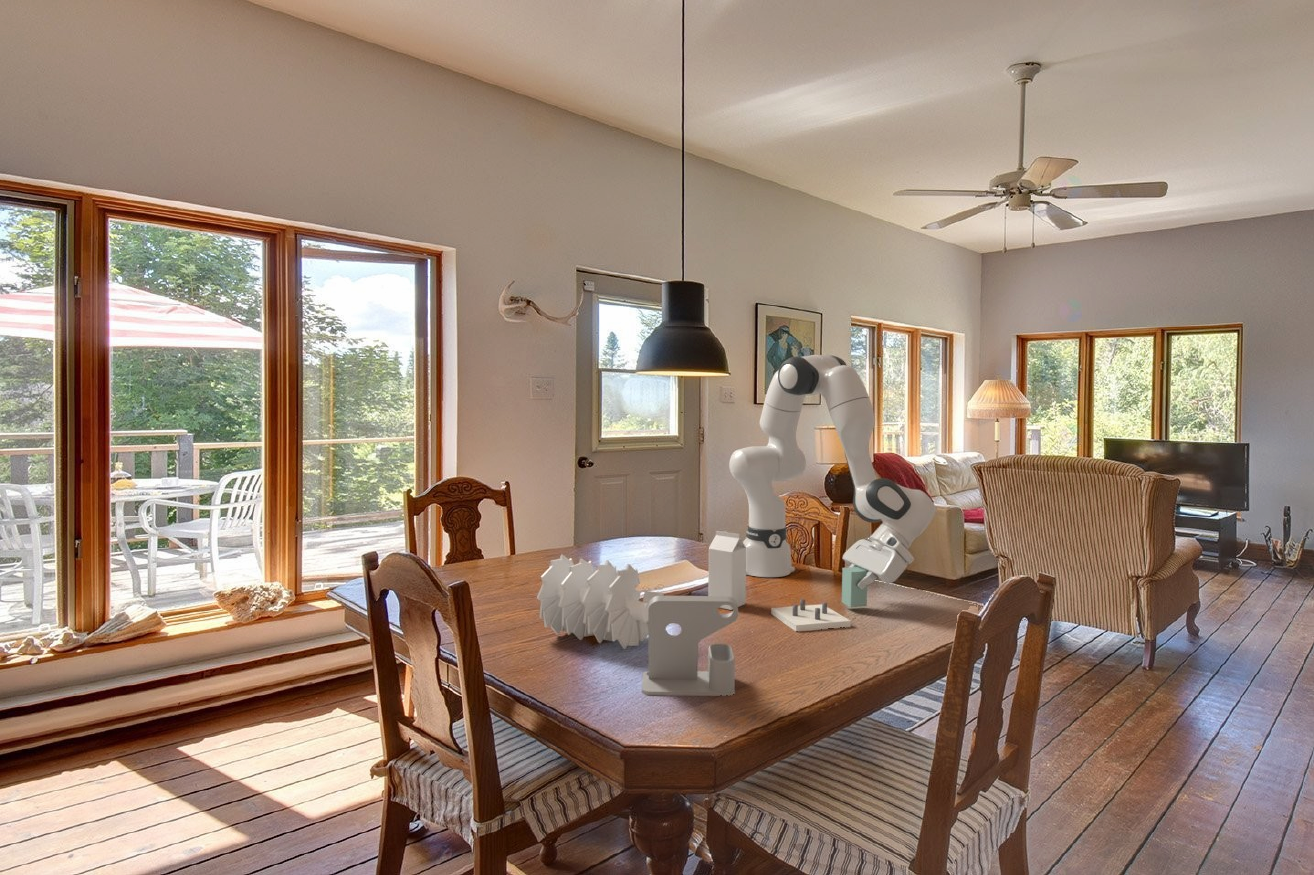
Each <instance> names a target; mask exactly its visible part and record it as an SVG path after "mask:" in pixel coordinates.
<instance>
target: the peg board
mask: <svg viewBox="0 0 1314 875" xmlns="http://www.w3.org/2000/svg"><path fill="white" fill-rule="evenodd" d="M799 602H800V603H799V605H798V604H792V606H783V607H781V606H780V607H771V610H770V611H771V613H770V614H771V615H772V616H773V617H775V618H776V619H778V620H779V621H780V622H781V623H783V624H785V625H786V626H787V627H788V628H790V629H792V630H793V631H794V632H796V631H798V632H808V631H809V632H810V631H819V630H821V629H822V630H829V629H828V628H834V629H842V628H843V627H845V628H851V626H852V625H851V622H852V621H851V620H850V619H849V618H846V617H845V616H844V615H841V614H840V613H838V612H836V611H835V610H833V609H831V608H829V607H828V602H826V601H824V602H821V603H820V604H806V599H805V598H800V600H799ZM840 627H842V628H840ZM843 629H844V628H843Z"/></svg>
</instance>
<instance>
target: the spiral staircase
mask: <svg viewBox="0 0 1314 875" xmlns="http://www.w3.org/2000/svg"><path fill="white" fill-rule="evenodd" d="M540 579H541V583H542V584H541V587H540V589H539V591H538V593H537V596H536V599H537V600H539V601H540V606H539V617H538V618H539V619H543V623H544V626H543V627H544V628H548V627H550V628H551V629H552V631H554V633H555V634H556V635H558V636H559V635H560V634H561V632H566V633H567V635H568V636H569V635H571V634H573V635H574V637H577V639H578V640H579V641H582V640H583V638H584V637H590V636H595V639H596V641H597V642H598V643H599V644H601V643H602V642H603V641H604V640H605V641H610V642H615V641H618V643H619V644H620V646H621V647H622V649H623V650H626V649H627V647H628V646H629V647H630V646H631V647H633V646H634V647H635V646H639V644H640V642H643V641H644V640H645V639H646V638H647V637H648V606H649V601H650V600H651V599H652V598H653V597H655V596H664V593H663V592H658V591H653V590H652V591H650V590H644V593H643V598H642V601H641V600H640V598H641V594H642V591H640V590H637V587H638V586H639V585H640V584H641V581H640V577H639V571H638V568H634V567H633V566H632V565H631V564H630V563H627V564H626V567H625V568H624V569H619V570H617V566H615V565H612V563H611V561H609V560H608V559H606V561H605V562H604V564H596V565H595V567H594V565H593V563H592V560H589V561H586V560H585V559H583V558H580V559H579V561H578V563H576V564H574V561H573V558H567V556H566V555H564V554H563V553H562V554H560V557H559V558H558V559H553V560H550V561H549V567H548V569H547V570H545V571H544V573H543V574H542V575H541V576H540Z"/></svg>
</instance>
